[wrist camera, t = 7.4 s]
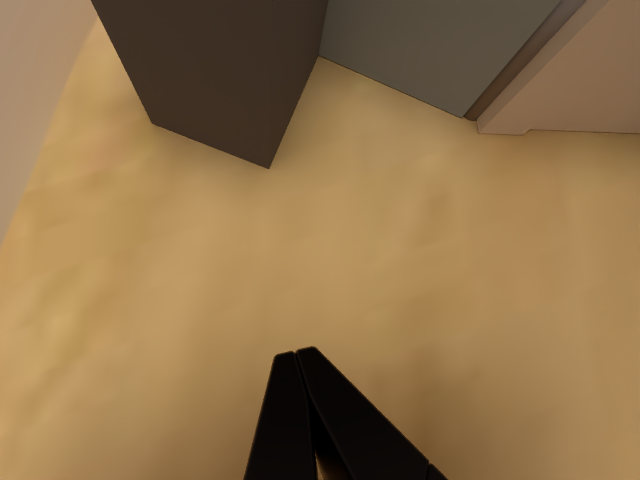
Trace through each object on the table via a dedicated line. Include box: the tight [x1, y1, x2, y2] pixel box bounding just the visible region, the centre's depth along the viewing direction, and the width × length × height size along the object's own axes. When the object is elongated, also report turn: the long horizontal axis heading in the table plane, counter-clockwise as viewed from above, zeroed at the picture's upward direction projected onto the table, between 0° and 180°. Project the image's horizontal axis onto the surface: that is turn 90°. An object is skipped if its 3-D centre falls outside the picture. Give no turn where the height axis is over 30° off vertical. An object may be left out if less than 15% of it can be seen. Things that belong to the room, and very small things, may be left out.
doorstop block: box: [91, 0, 328, 169], centre depth 17 cm, size 7×6×11 cm
